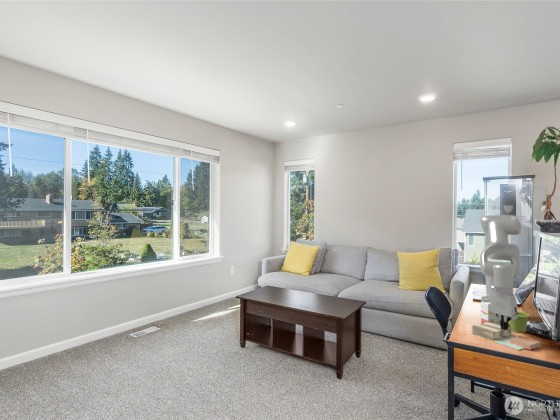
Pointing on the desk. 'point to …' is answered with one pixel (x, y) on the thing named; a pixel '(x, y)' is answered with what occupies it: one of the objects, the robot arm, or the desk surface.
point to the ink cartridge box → (487, 311)
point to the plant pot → (519, 323)
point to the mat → (508, 343)
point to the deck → (491, 331)
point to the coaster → (525, 342)
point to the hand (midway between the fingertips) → (504, 329)
